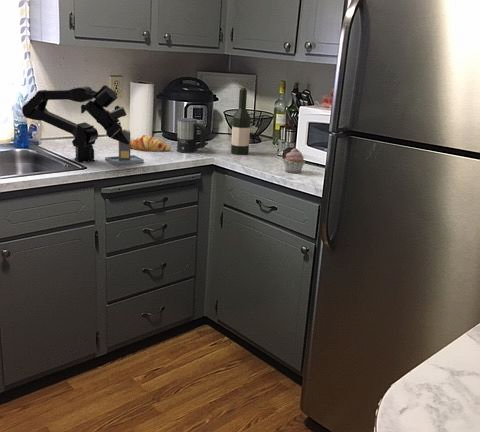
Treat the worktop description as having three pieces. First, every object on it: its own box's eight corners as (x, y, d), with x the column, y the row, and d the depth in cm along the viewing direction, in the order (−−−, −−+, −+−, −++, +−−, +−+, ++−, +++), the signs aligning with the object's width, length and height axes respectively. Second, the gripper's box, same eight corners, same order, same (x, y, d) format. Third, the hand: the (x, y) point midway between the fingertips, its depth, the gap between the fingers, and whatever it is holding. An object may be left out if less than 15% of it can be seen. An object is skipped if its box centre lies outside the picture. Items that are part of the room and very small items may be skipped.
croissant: (171, 157, 264) (173, 141, 265) (167, 151, 254) (170, 134, 255) (126, 153, 265) (129, 137, 266) (121, 146, 255) (124, 129, 256)
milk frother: (174, 152, 258) (175, 119, 253) (178, 146, 273) (179, 115, 268) (206, 154, 258) (207, 121, 253) (208, 148, 273) (209, 117, 268)
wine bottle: (246, 155, 260) (250, 89, 251) (228, 154, 261) (232, 87, 252) (250, 152, 268) (254, 87, 259) (232, 150, 269) (236, 86, 260)
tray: (114, 165, 226) (113, 161, 226) (105, 160, 233) (105, 157, 233) (143, 162, 233) (143, 159, 233) (134, 158, 240) (134, 155, 240)
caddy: (119, 161, 230) (118, 130, 226) (118, 159, 235) (118, 128, 231) (130, 161, 231) (130, 131, 227) (129, 159, 236) (129, 128, 232)
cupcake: (291, 175, 228) (293, 150, 225) (277, 170, 235) (279, 146, 232) (309, 173, 233) (311, 149, 230) (294, 168, 240) (296, 145, 237)
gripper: (115, 102, 216) (144, 132, 222) (113, 97, 233) (140, 124, 239) (94, 122, 217) (123, 151, 223) (94, 115, 234) (121, 142, 240)
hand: (127, 141), depth 231 cm, fingers open, 9 cm apart
